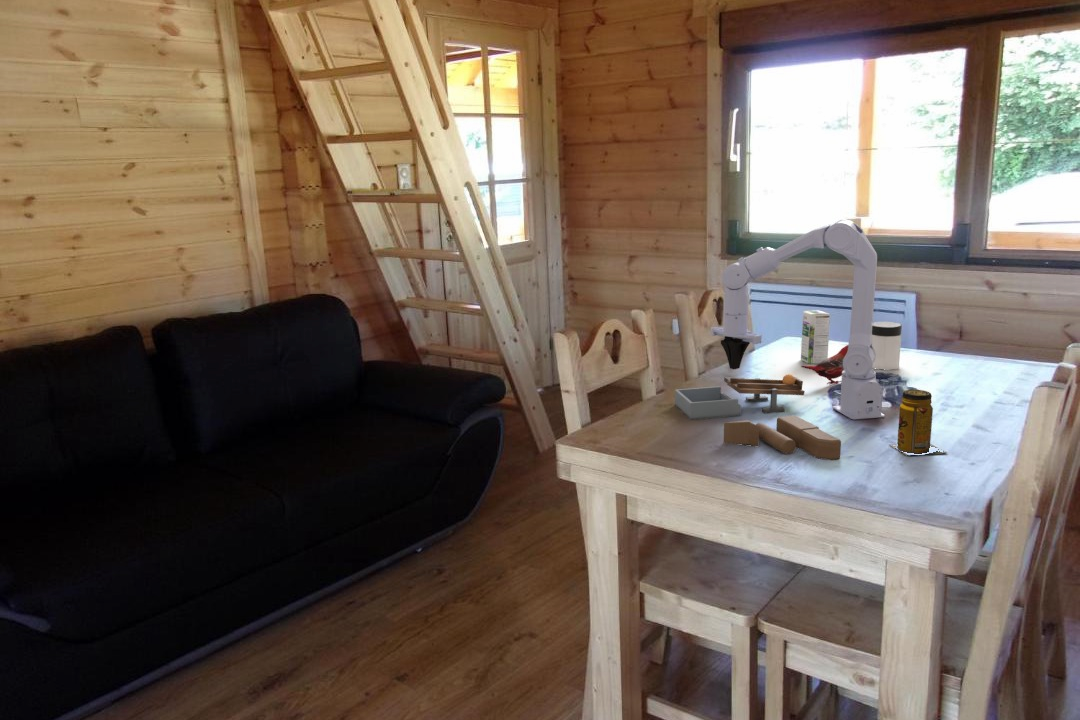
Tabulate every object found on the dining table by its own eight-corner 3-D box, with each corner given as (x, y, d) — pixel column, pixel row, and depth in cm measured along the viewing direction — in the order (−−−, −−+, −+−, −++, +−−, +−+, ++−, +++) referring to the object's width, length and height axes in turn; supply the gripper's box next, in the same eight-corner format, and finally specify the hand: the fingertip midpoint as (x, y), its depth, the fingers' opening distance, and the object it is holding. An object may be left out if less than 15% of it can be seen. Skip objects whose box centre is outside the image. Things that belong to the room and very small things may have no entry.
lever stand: (765, 398, 206) (765, 377, 205) (784, 411, 195) (785, 389, 194) (745, 400, 206) (746, 378, 204) (764, 413, 195) (765, 390, 193)
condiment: (888, 445, 171) (892, 388, 168) (927, 442, 172) (932, 386, 169) (907, 457, 164) (911, 398, 161) (948, 454, 165) (953, 396, 162)
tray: (740, 415, 194) (740, 399, 193) (690, 419, 192) (690, 403, 191) (722, 401, 205) (722, 386, 204) (674, 405, 204) (674, 389, 203)
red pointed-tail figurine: (859, 382, 218) (861, 344, 216) (803, 390, 212) (805, 352, 210) (851, 379, 221) (853, 342, 218) (796, 388, 215) (797, 350, 212)
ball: (795, 389, 199) (799, 377, 198) (783, 386, 198) (788, 374, 198) (789, 386, 202) (793, 374, 201) (778, 383, 201) (782, 371, 201)
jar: (867, 362, 238) (869, 320, 235) (898, 363, 235) (900, 321, 233) (867, 369, 230) (870, 327, 227) (899, 371, 227) (902, 328, 224)
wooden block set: (793, 409, 180) (843, 434, 163) (792, 434, 182) (842, 461, 165) (721, 417, 176) (765, 443, 159) (721, 442, 177) (764, 471, 160)
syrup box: (799, 360, 243) (801, 310, 240) (818, 358, 244) (820, 309, 241) (809, 364, 238) (811, 314, 235) (828, 362, 239) (830, 312, 236)
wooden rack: (783, 383, 208) (784, 371, 207) (804, 395, 197) (805, 382, 196) (722, 381, 206) (723, 369, 205) (739, 393, 194) (741, 380, 194)
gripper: (770, 315, 197) (769, 370, 200) (725, 307, 208) (724, 360, 211) (750, 319, 193) (748, 376, 196) (704, 311, 204) (704, 365, 208)
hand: (734, 368), depth 203 cm, fingers closed
